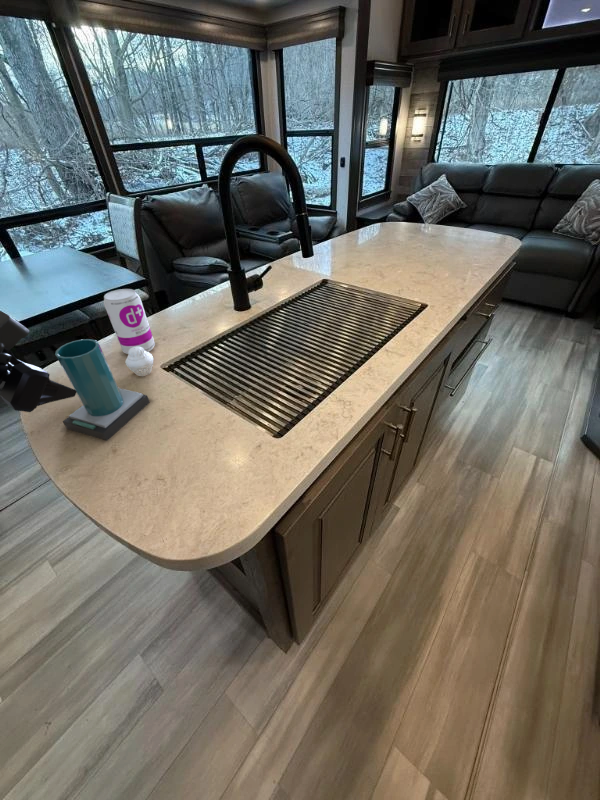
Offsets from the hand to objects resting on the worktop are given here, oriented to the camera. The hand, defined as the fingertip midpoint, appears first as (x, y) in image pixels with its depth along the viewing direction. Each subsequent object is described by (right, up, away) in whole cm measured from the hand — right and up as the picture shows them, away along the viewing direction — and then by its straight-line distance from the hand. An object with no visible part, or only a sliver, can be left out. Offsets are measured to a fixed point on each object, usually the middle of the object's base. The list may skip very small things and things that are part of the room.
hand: (61, 384), depth 58 cm
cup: (+3, -4, +8) cm, 9 cm away
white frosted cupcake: (+4, +4, +22) cm, 23 cm away
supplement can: (-1, +11, +31) cm, 33 cm away
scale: (+3, -6, +10) cm, 12 cm away
